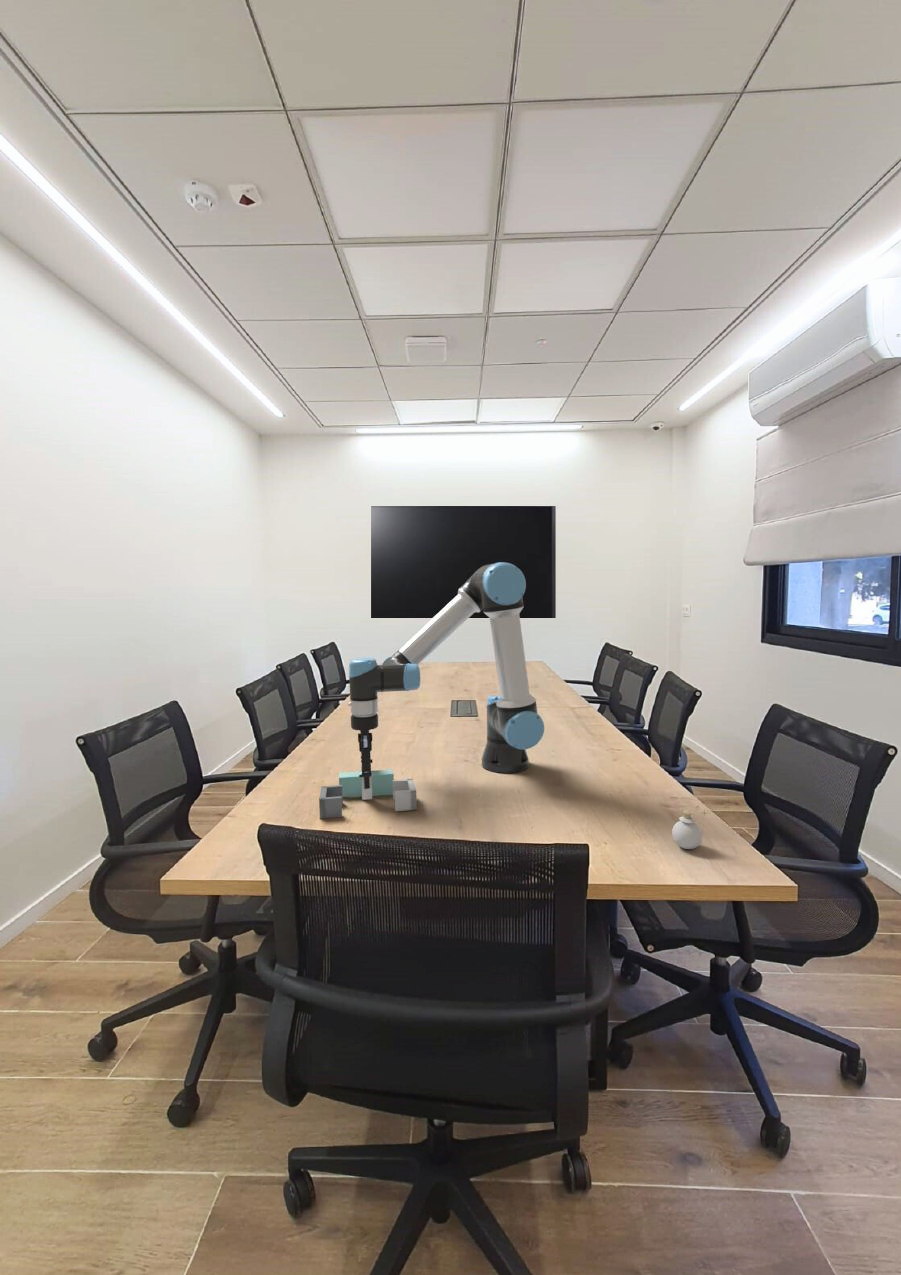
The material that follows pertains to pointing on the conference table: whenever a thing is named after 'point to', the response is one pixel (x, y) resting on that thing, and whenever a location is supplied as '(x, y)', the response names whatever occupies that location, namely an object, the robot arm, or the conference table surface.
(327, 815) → the cap
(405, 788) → the sliding cap
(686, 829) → the ornament
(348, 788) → the block
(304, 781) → the conference table surface
